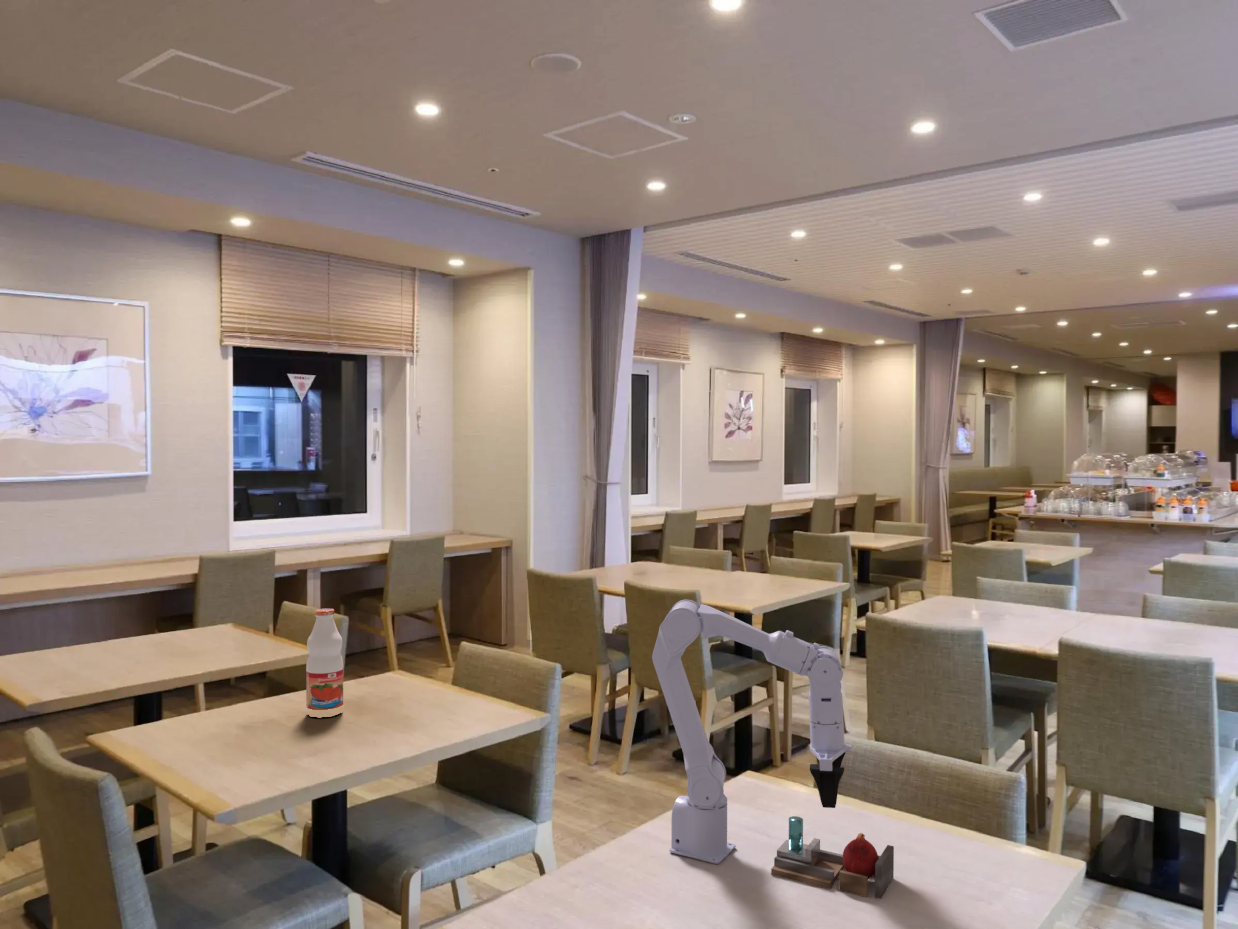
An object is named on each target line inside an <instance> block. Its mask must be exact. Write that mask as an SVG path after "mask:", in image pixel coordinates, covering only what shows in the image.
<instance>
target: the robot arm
mask: <svg viewBox="0 0 1238 929" xmlns="http://www.w3.org/2000/svg"><path fill="white" fill-rule="evenodd" d="M700 633H702V639H703V640H704V639H710V638H713V637H717V636H722V637H724V638H726V639H730V640H732V641H734V642H737V643H740V644H742V645H745V646H748V647H750V648H752V649H754V650H758V651H761V652H762V653H763V654H764V657H765V659H766V661H767V662H768V663H771V664H773V665H775V666H777V667H780V668H782V669H784V670H787V671H790V672H791V673H794V674H796V675H798V676H801V677H803V676H805V677H808V681H809V692H808V716H809V736H810V738H809V739H810V743H809V751H810V752H811V753H812V754H813V755H814V757H815V758H816V760H817V763H818V764H816V763H810V764H809V771H810V774H811V776H812V777H813V779H814V781H815V784H816V786H817V791H818V795H819V800H820V803H821V806H822V808H827V809H828V808H830V809H835V808H836V807H837V806H836V805H837V800H838V791H839V785H840V781H841V779H842V777H843V775H844V772H845V767H844V766H842V763H843V760H844V757H845V755H846V753H850V752H852V750H853V749H852V745H851V744H847V743H845V729H844V728H845V726H844V724H845V723H844V705H843V703H844V701H843V693H842V691H841V690H842V683H841V681H842V679H843V675H844V671H843V668H842V665H841V662H840V659H839V657H838V655H837V654H836V653H835V652H834V651H833V650H831V649H830V648H829V647H827V646H825V645H824V646H822V645H821V646H820V644H819V643H816V642H814V643H809V642H807V641H805V640H803V639H800V638H798V637H796V636H794V632H793V631H790V630H788V629H787V630H785V632H784V631H782V630H777V631H775V632H772V633H768V632H765V631H764V630H762V629H760V628H757V627H755V626H753V625H751V624H749V623H746V622H744V621H742V620H741V619H738V618H736V617H733V616H732V615H729V614H727V613H725V612H723V611H721V610H719V609H716V608H714V607H712V606H709V605H708V604H703V603H701V604H699V603H698V602H696V601H694V600H692V599H682V600H679V601H677V602H675V604H673V605H672V608H670V610H669V612H668V613H667V614H666V616H665V618H664V620H663V621H662V622H661V623H660V625H659V628H658V634H657V637H656V641H655V644H654V647H653V651H652V655H651V660H652V663H653V666H654V669H655V673H656V675H657V679H658V682H659V685H660V688H661V690H662V693H663V696H664V700H665V703H666V706H667V709H668V711H669V715H670V717H671V718H670V719H671V721H672V724H673V727H674V729H675V733H676V735H677V739H678V741H679V744H680V747H681V750H682V754H683V761H684V768H685V773H686V776H687V785H686V792H687V795H679V796H678V797H677V798H676V799H675V801H674V802H673V803H674V804H673V806H672V811H671V840H670V841H671V842H670V843H671V847H670V848H669V852H670V853H671V854H676V855H679V856H684V857H687V858H692V859H695V860H699V861H703V862H707V863H711V864H715V865H716V864H717V865H718V864H720V863H721V862H722V861H723V860H724V859H725V858H726V857H727V856H728V855H729V854H730V853H731V852H732V851H734V849H735V848H736V844H735V843H731V842H728V797H727V796H726V795H725V792H724V787H725V786H724V785H725V781H726V778H727V770H726V767H725V765H724V763H723V762H722V760H720V759H719V757H718V756H717V754H716V752H715V749H714V748H713V746H712V744H711V743H710V742H709V740H708V736H707V733H706V731H705V728H704V727H705V726H704V724H703V721H702V718H701V716H700V712H699V710H698V707H697V703H696V700H695V698H694V695H693V694H694V693H693V692H692V688H691V685H690V683H689V680H688V676H687V674H686V669H685V667H684V665H683V661H682V656H683V654H684V653H685V651H686V649H687V647H688V646H690V645H691V644H692V643H693V642H694V641H695V640H696V639H697V638H698V637H699V635H700Z"/></svg>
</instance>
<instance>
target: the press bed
mask: <svg viewBox="0 0 1238 929" xmlns="http://www.w3.org/2000/svg"><path fill="white" fill-rule="evenodd" d="M894 847H895V846H893V845H891V844H890V845H889V844H887V846H886V847H885V848H884V850H883V851H882V853H881V854H880V855H878V858H879V859H878V861H877V862H876V864H875V874H874V875H873V876H874V877H875V878H874V898H876V899H880V900H882V899H883V898H884V896H885V894H886V892H887V890H888V889H889V887H890V886H891V884H892V882H893V880H894V876H895V875H894V874H895V873H894V868H895V867H894V863H895V861H894V859H895V857H894V856H895V853H894V851H895V848H894ZM773 860H774V861H773V862H774V863H773V866H772V867H771V868H770V872H771V873H770V874H771V875H772V876H776V877H778V878H784V879H787V880H792V881H795V882H799V883H803V884H807V885H812V886H815V887H820V888H822V889H823V888H824V889H827V890H831V888H832V887H833V886H834V884H835V883H836V881H837V880H839V881H838V882H839V884H838V889H839V890H838V891H840V892H842V893H843V892H844V893H847V894H851V895H857V896H861V897H864V898H867V897H868V895H869V879H868V876H863V875H859V874H855V873H851V872H847V871H846V870H845V867H844V865H843V853H842V854H841V853H837V852H832V851H827V850H824V849H820V859H819V860H818V861H817V862H816V864H815V865H814V866H813V865H809V864H805V863H801V862H797V861H793V860H788V859H784V858H780V857H777V856H775V857H774V858H773Z"/></svg>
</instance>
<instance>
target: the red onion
mask: <svg viewBox="0 0 1238 929" xmlns="http://www.w3.org/2000/svg"><path fill="white" fill-rule="evenodd" d="M865 836H866V835H865V834H864V833H863V832H859V833H858V834H857V836H856V838H854V839H852V840H851V841H849V843H847V844H846V845H845V847H844V849H843V852H842V855H843V865H844V867H845V869H844V871H847V872H851V873H855V874H859V875H863V876H868V880H869V879H871V878H872V877H873V876H875V875H874V874H875V864H876V862H877V861H878V859H879V858H878V856H879V855H878V852H877V849H876V848H875V846H874V845H873V844H872V843H871V842H870V841H869V840H867V839H866V838H865Z"/></svg>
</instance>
